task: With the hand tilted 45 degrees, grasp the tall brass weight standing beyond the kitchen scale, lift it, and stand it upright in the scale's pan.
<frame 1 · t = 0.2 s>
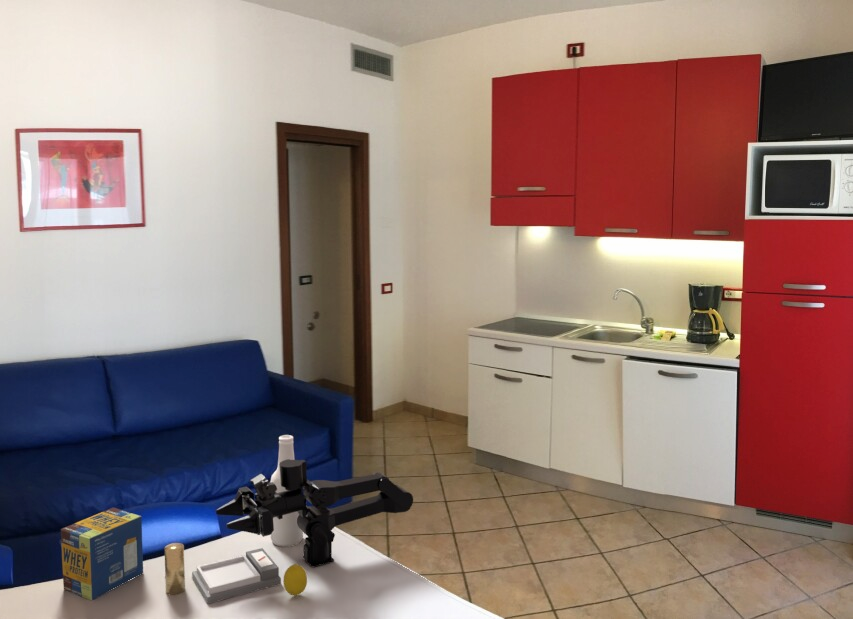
hand: (221, 519, 175), 17 cm above the table, tool horizontal, fingers open, 9 cm apart
protein box: (104, 582, 178), on the table
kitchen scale: (236, 580, 179), on the table
lemon: (295, 596, 172), on the table
alcohol: (287, 541, 201), on the table
brass weight: (175, 590, 174), on the table
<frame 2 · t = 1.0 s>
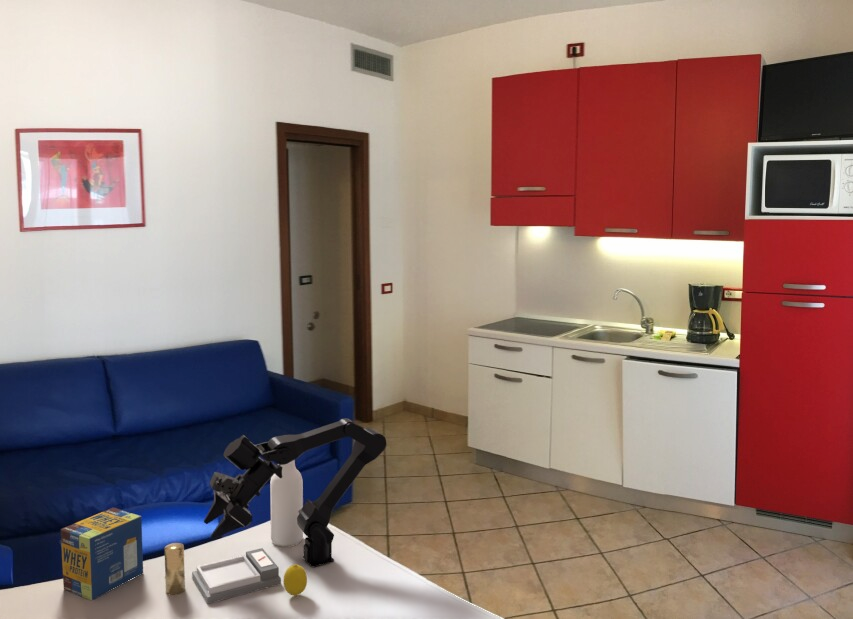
hand: (208, 530, 176), 14 cm above the table, tool tilted 45°, fingers open, 9 cm apart
nothing on the table moved.
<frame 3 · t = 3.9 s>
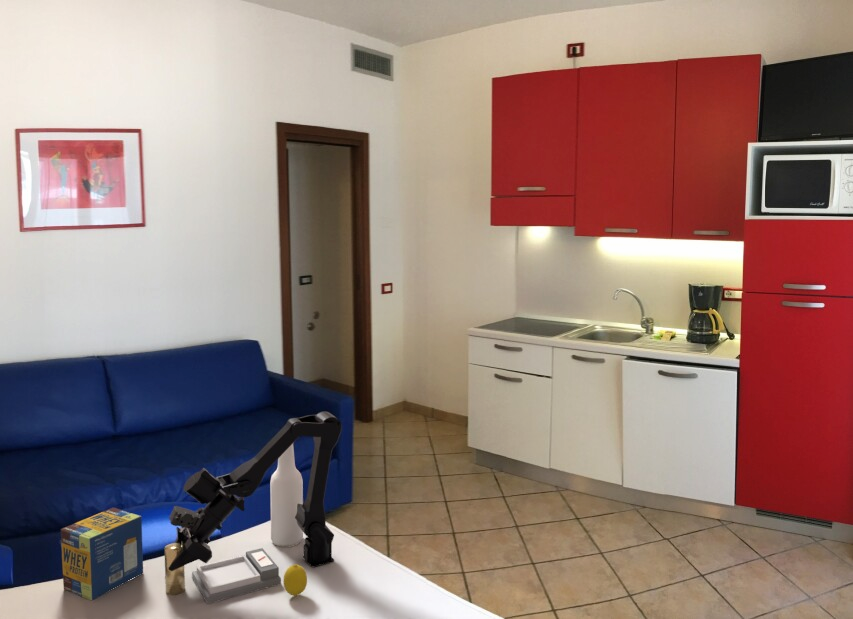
hand: (168, 565, 173), 7 cm above the table, tool tilted 45°, fingers closed on brass weight, 4 cm apart
brass weight: (175, 590, 174), on the table, touching gripper
everything else where it was.
when the fingers open (10 cm above the table, at t = 8.1 s): brass weight drops 1 cm, resting on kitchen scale.
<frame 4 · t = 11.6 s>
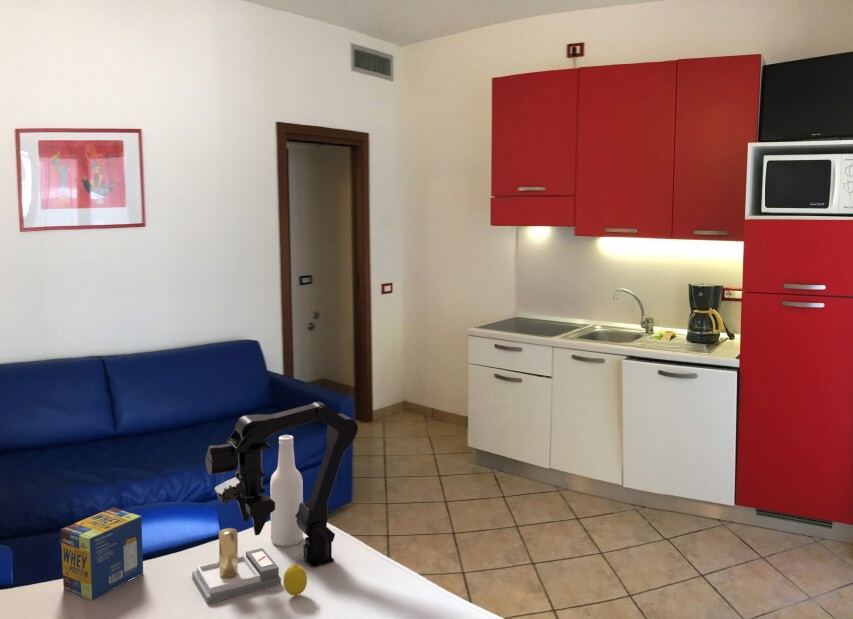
hand: (251, 527, 179), 13 cm above the table, tool pointing down, fingers open, 9 cm apart
brass weight: (228, 574, 178), point 2 cm above the table, touching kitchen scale
everything else where it was.
at the end: brass weight inside the target area on the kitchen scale (0.1 cm from its centre), point 2.2 cm above the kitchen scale's base; brass weight tilted 1°; the gripper is holding nothing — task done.
